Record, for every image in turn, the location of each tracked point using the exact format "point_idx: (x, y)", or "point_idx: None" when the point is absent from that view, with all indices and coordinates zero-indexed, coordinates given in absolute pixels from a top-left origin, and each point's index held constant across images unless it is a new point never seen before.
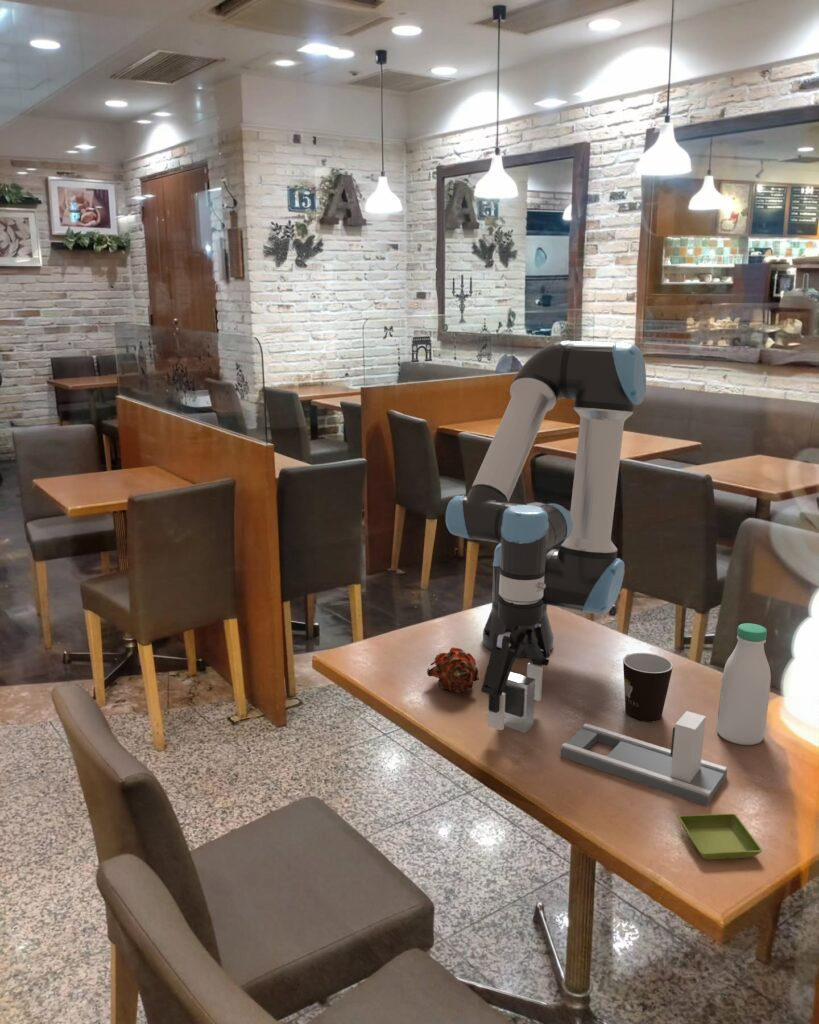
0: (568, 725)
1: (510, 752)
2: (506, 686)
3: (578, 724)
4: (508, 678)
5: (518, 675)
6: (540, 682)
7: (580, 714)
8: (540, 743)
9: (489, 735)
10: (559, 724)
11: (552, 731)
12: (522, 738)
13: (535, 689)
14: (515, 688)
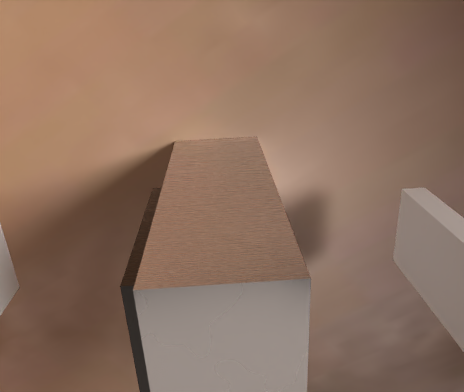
0: (346, 342)
1: (19, 296)
2: (128, 319)
3: (373, 361)
4: (165, 350)
5: (285, 372)
6: (452, 331)
7: None
8: None
9: (58, 166)
10: (335, 318)
11: None
12: None
13: (425, 272)
14: (143, 383)
